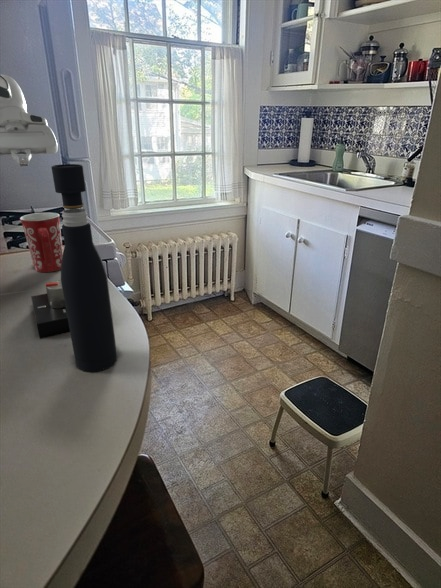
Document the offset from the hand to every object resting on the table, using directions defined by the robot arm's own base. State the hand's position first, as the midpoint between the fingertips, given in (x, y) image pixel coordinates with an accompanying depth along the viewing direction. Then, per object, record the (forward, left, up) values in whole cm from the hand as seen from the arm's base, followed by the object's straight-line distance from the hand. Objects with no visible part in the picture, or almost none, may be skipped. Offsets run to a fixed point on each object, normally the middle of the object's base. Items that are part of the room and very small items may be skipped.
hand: (23, 164), depth 110 cm
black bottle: (+2, -71, -24) cm, 75 cm away
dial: (0, -53, -20) cm, 57 cm away
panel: (0, -53, -23) cm, 58 cm away
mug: (0, -24, -24) cm, 34 cm away
